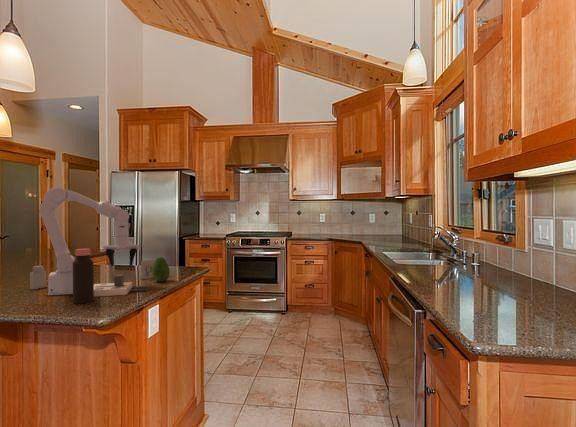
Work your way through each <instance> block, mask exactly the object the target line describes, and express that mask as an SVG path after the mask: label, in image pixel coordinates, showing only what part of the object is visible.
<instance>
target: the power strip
mask: <svg viewBox="0 0 576 427" xmlns="http://www.w3.org/2000/svg"><path fill="white" fill-rule="evenodd" d="M147 289H148V285H144V286H133V282H132V281H124V284H123V285H122V286H114V282H112V283H111V282H109V283H94V298H95V297H109V296H111V297H112V296H124V295H128V294H129V292H130V293H137V292H139V291H141V292H146V291H147Z"/></svg>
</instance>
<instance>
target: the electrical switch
mask: <svg viewBox="0 0 576 427" xmlns="http://www.w3.org/2000/svg"><path fill="white" fill-rule="evenodd" d="M155 260H156V259H147V260H145V259H144V260H141V261H140V269H141V270H140V274H141V276H140V279H141V280H150V279H154V278H153V276H152V268H153V265H154V262H155Z"/></svg>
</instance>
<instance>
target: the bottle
mask: <svg viewBox="0 0 576 427" xmlns="http://www.w3.org/2000/svg"><path fill="white" fill-rule="evenodd" d="M74 252H75V253H74V254H75V255H74V256H75V257H76V258H75V261H74V262H73V294H72V303H73V304H74V305H75V304H76V305H82V304H88V303H91V302H94V300H95V297H94V284H95V283H94V282H95V281H94V280H95V279H94V272H95V271H94V261H93V260H92V258H91V252H92V250H91V248H87V247H86V248H76V249H75V250H74Z"/></svg>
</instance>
